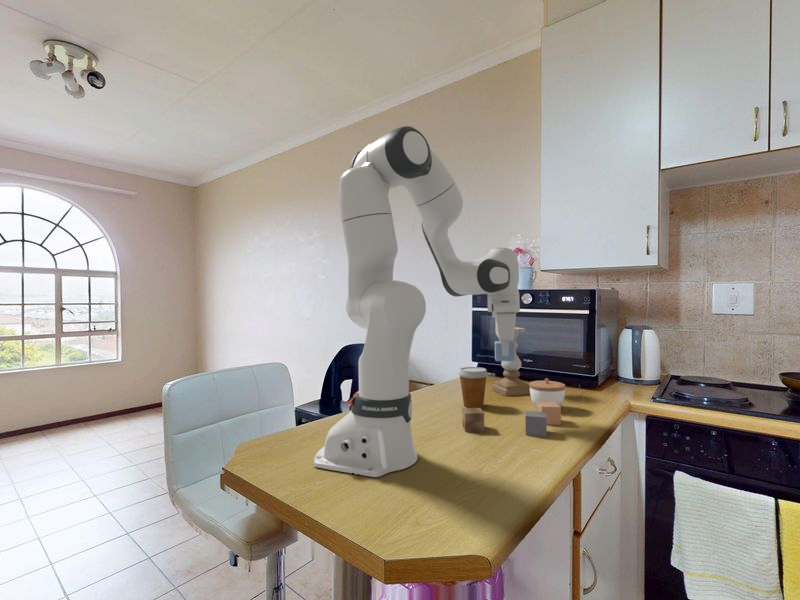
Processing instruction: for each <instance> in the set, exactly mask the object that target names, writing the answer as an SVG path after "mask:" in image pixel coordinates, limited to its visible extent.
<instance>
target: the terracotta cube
mask: <svg viewBox="0 0 800 600" xmlns="http://www.w3.org/2000/svg"><path fill="white" fill-rule="evenodd" d="M537 405H538V408H537V411H538V412H546V425H548V426H549V425H550V426H551V425H553V426H554V425H555V426H557V425H558V426H561V425H562V407H561V406H559V405H558V404H557V403H556V402H537Z"/></svg>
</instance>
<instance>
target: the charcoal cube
mask: <svg viewBox="0 0 800 600" xmlns="http://www.w3.org/2000/svg"><path fill="white" fill-rule="evenodd" d="M524 419H525V436H529V437H530V436H531V437H541V438H547V437H548V435H547V431H548V430H547V429H548V428H547V425H546V412H538V410H537V411H536V410H525V416H524Z"/></svg>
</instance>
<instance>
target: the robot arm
mask: <svg viewBox="0 0 800 600" xmlns="http://www.w3.org/2000/svg"><path fill="white" fill-rule="evenodd" d="M453 178H454V177H453V176H452V175H451V173H450V171H449V170H448V168H447V167H446V165H445V164H444V163H443V162H442V160H441V159H440V157H439V156H438V155H437V154H436V152H434V151H433V150H432V149H431V148H430V144H429V142H428V140H427V138H426V137H425V136H424V134H423V133H422V132H420V131H419V130H418V129H417V128H416V127H413V126H409V125H406V126H400V127H397V128H395V129H392V130H391V131H389V133H387V134H385V135H383V136H381V137H379V138H376V139H374V140H372V141H371V142H370V143H368V144H367V145H366V146H365V147H364V148H362V149H361V150H359V151H358V152H357V153H356V154H355V155H354V156H353V158H352V159H351V162H350V165H349V169H347V170H346V171H344V172H343V174H342V175H341V176H340V178H339V181H338V203H339V214H340V219H341V225H342V231H343V238H344V243H345V248H346V255H347V263H348V264H347V265H348V269H347V270H348V271H347V272H348V273H347V274H348V277H347V278H348V280H347V281H348V282H347V283H348V287H347V288H348V292H347V294H348V296H347V300H346V303H345V304H346V305H345V309H346V313H347V316H348V318H349V319H350V320H351V321H352V322H353V323H355V325H357V326H358V327H359V328H361V329H364V330H366V336H365V342H364V344H363V345H364V346H363V350H362V353H361V354H360V356H359V358H358V391H356V392H355V393H354V394H353V395H352V396H353V397H351V398H350V400H349V401H348V403H349V404H348V407H349V408H350V410H351V411H350V412H348V413H347V414H346V415H344V417H342V418H340V420H339V421H338V422H336V423H335V424H334V425H333V426H331V428H330V429H329V430H328V432H327V434H326V438H325V442H324V446H322V447H321V448H320V449H319V450H318V451H317V452H316V454H315V455H314V457H313V458H314V459H313V465H314V467H315V468H318V469H319V468H320V469H324V470H325V469H326V470H331V471H337V472H341V473H342V472H343V473H347V474H352V473H354V474H353V475H358V474H359V475H360V476H365V477H370V478H371V477H372V478H379V477H382V476H384V475H387V474H389V473H392V472H397V471H400V470H401V471H402V470H404V469H407V468H409V467H411V466H412V465H414V464H416V462H417V460H418V454H417V451H416V450H417V449H416V448H415V447H416V446H415V443H414V442H415V441H414V437H413V432H412V431H413V430H412V425H411V420H412V418H413V415H412V414H413V406H412V405H413V403H412V402H413V401H412V395H411V393H410V387H409V386H410V367H409V364H410V354H411V350H412V346H413V345H412V344H413V342H414V336H415V334H416V331H417V328H419V326H420V325H421V323H422V322H423V320H424V319H425V315H426V311H427V303H426V300H425V299H426V298H425V296H424V294H423V293H422V292H421V289H419V288H418V287H416V286H415V285H413V284H411V283H408V282H406V281H400V280H397V279H396V280H394V267H395V266H394V264H395V259H396V258H397V255H398V251H399V249H398V242H397V235H396V229H395V224H394V219H393V212H392V208H391V203H390V199H389V191H390V189H392V188H397V187H400V186H403V187H404V188H406V189H407V191H408V193H409V195H410V198H412V199H411V200H412V201H413V203H414V204H415V206H416V209H417V210H418V213H419V215H420V217H421V221H422V222H421V230H422V233H423V235H424V239H425V241H426V243H427V246H428V247H429V250H430V253H431V255H432V256H433V259H434V261H435V264H436V266H437V268H438V270H439V274H440V279H441V282H442V286H443V288H444V289H445V291H446V293H448V294H449V295H450V296H452V297H456V298H457V297H463V296H476V295H477V296H478V295H487V312H488V313H492V314H491V315H492V317H491V318H495V319H494V320H495V335H496V336H497V338H498V341H501V346H502V355H503V356H508V355H509V341H513V340H514V335H515V327H516V322H517V319H516V318H517V313H519V312H520V308H521V307H520V306H521V305H520V304H521V303H520V291H519V282H520V271H519V262H518V261H519V260H518V256H517V253H516V252H515V251H514V250H513V249H511V248H507V247H495V248H491V249H490V250H489V252H488V253H487V254H486V255H484V256H482V257H480V258H477V259H472V260H465V261H464V260H462V259H460V258H458V256H457V255H456V253H455V250H454V247H453V246H452V243H451V241H450V238H449V236H448V231H449V228H451V227H452V225H454V223H455V222H456V221H457V220H458V219H459V217H460V216H461V213H462V210H463V206H464V200H463V196H462V194H461V191H460V189H459V188H458V185H457V184H456V181H455V180H454V179H453Z"/></svg>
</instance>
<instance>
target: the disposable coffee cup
mask: <svg viewBox="0 0 800 600" xmlns="http://www.w3.org/2000/svg"><path fill="white" fill-rule="evenodd" d="M488 375H489V373H488V371H487V369H486V368H484V367H480V366H479V367H477V366H465V367H461V368H459V370H458V376H459V378H460V387H461V394H462V401H463V403H462V404H463V406H464V408H481V409H482V408H483V407H484V403H485V394H486V392H485V391H486V384H487V377H488Z"/></svg>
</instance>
